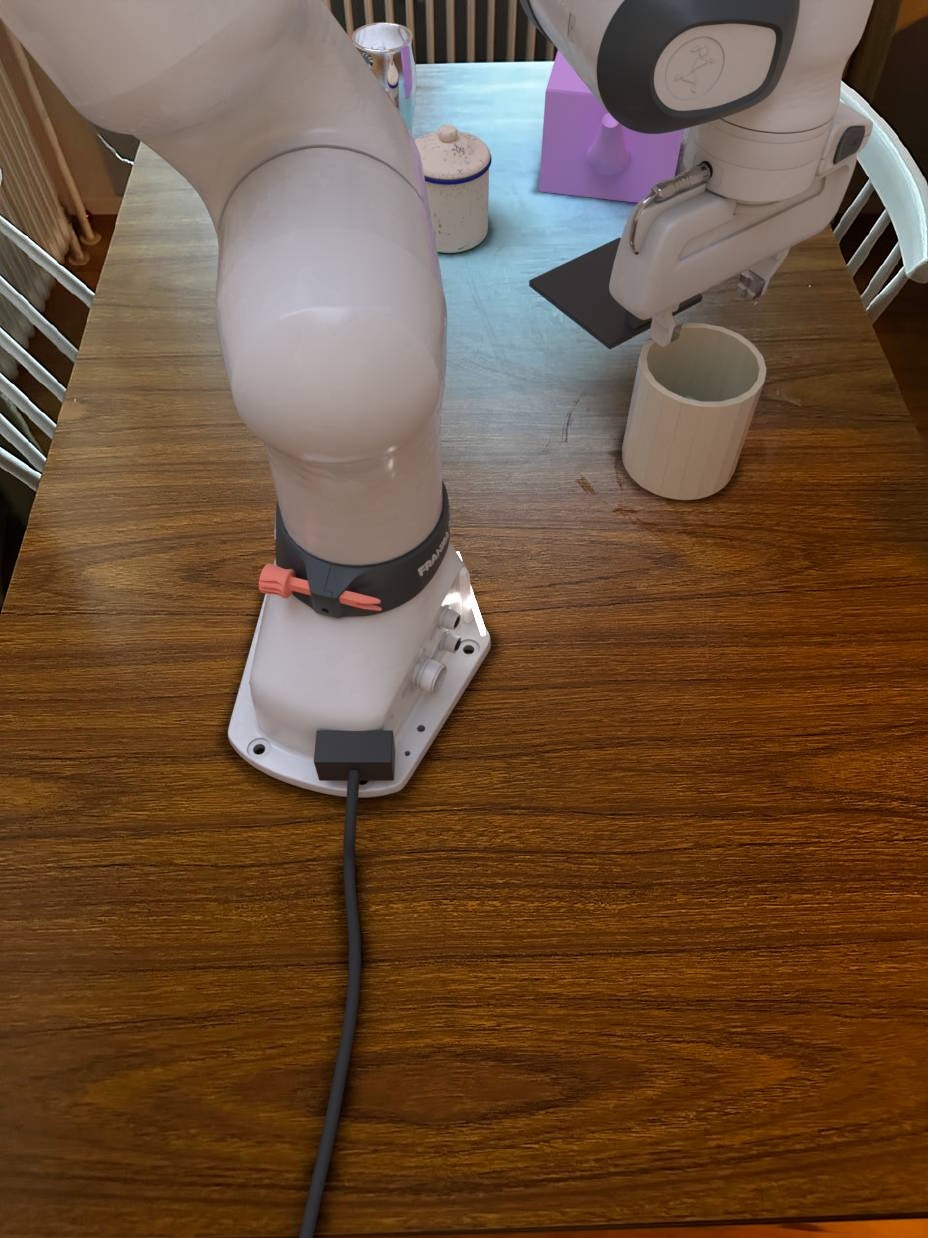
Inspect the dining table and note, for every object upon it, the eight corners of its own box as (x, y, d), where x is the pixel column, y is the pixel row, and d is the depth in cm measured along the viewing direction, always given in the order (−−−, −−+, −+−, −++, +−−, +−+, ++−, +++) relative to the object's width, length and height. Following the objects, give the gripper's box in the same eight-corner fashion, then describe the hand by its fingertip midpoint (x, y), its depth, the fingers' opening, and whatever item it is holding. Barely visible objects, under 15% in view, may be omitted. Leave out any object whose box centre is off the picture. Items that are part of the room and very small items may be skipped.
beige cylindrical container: (758, 466, 86) (792, 371, 77) (676, 517, 83) (702, 424, 74) (679, 404, 91) (702, 307, 82) (598, 450, 87) (614, 354, 78)
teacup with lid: (493, 210, 109) (496, 107, 100) (485, 258, 104) (487, 155, 94) (390, 204, 110) (382, 101, 100) (377, 251, 105) (368, 147, 95)
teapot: (529, 226, 107) (536, 100, 96) (560, 113, 121) (570, -9, 110) (663, 242, 106) (688, 115, 94) (679, 125, 120) (702, 2, 108)
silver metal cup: (353, 162, 115) (340, 28, 103) (406, 149, 117) (399, 15, 104) (374, 192, 111) (363, 56, 99) (429, 178, 113) (425, 43, 101)
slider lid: (701, 301, 82) (710, 264, 79) (609, 350, 78) (615, 313, 75) (618, 242, 87) (624, 205, 84) (528, 285, 83) (530, 249, 80)
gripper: (673, 216, 58) (636, 391, 69) (891, 117, 65) (824, 290, 76) (605, 170, 61) (579, 345, 72) (820, 79, 68) (766, 252, 79)
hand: (707, 316), depth 74 cm, fingers open, 8 cm apart
